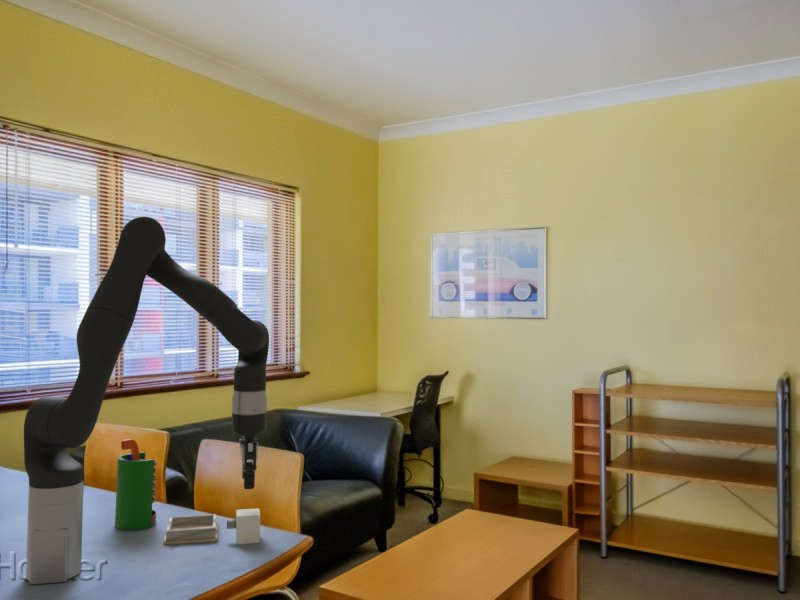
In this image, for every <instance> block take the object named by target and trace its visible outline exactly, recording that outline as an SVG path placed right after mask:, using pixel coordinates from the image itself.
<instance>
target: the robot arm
mask: <svg viewBox="0 0 800 600" xmlns="http://www.w3.org/2000/svg"><path fill="white" fill-rule="evenodd" d="M119 235H120V236H119V239H118V242H117V246H116V248H115V251H114V253H113V257H112V260H111V263H110V265H109V267H108V270H107V271H106V273H105V275H104V277H103V278H102V280H101V282H100V283H99V285H98V287H97V289H96V291H95V293H94V295H93V297H92V299H91V301H90V302H89V305H88V307H87V309H86V311H85V313H84V315H83V317H82V319H81V321H80V323H79V326H78V329H77V332H76V347H77V353H78V354H77V355H78V360H79V361H78V362H79V369H78V374H77V377H76V380H75V382H74V385H73V388H72V390H71V391H70V393H69V395H68V397H61V396H43V397H40V398H37V399H36V400H35V401H33V403H32V404H30V406H29V408H28V410H27V411H26V414H25V418H24V423H23V454H24V455H23V457H24V458H23V459H24V460H23V461H24V463H23V464H24V469H25V471H26V474H27V476H28V500H27V528H26V529H27V534H26V535H27V537H26V538H27V539H26V570H25V571H26V572H25V573H26V574H25V579H26V581H28V583H29V585H43V584H51V583H52V584H53V583H65V582H68V581H69V580H70V579H72V578H73V577H74V578H75V577H76V576H77V575H79V574H80V573H81V571H82V556H83V555H82V554H83V548H82V547H83V519H84V518H83V516H84V488H85V487H84V485H85V484H84V483H85V480H84V479H85V476H84V475H85V470H84V466H83V464H81V462H79V461H77V460H76V459H74V458H73V457H72V456H71V454H70V453H69V452H68V450H67V449H75V448H79V447H81V446H82V445H83V444H85V443H86V442H87V441H88V440H89V438H90V436H91V435H92V434H93V432H94V429H95V427H96V424H97V421H98V419H99V418H98V417H99V414H100V411H101V409H102V405H103V402H104V398H105V395H106V392H107V389H108V385H109V382H110V380H111V378H112V377H111V376H112V375H113V372H114V369H115V367H116V364H117V361H118V359H119V357H120V353H121V352H122V349H123V347H124V345H125V344H126V341H127V338H128V336H129V334H130V332H131V330H132V327H133V325H134V321H135V318H136V315H137V311H138V308H139V304H140V301H141V300H140V299H141V297H142V296H141V294H142V291H143V286H144V283H145V280H146V277H149V278H151V279H152V280H154V281H155V282H157V283H159V284H160V285H161V286H163V287H164V288H165V289H167V290H169V291H170V292H172V293H173V294H174V295H176V296H177V297H178V298H179V299H181V300H182V301H183V302H185V303H186V304H187V305H189V307H191V309H193V310H194V311H195V312H197V313H198V314H199V315H200V316H201V317H202V318H203V319H205V320H206V321H207V322H209V323H210V324H211V325H213V327H214V328H216V329H217V331H218V332H219V333H220V334H221V335H222V336H223V337H224V339H225V340H226V341H227V343H229V344H230V345H231V346H233V347H234V348H235V349H236V350H238V352H237V353H238V355H237V364H236V365H235V367H234V372H233V394H232V400H231V432H232V433H233V434H236V435H237V434H238V435H241V439H239V442H238V443H239V452H240V453H239V455H240V458H241V459H240V461H241V463H242V468H241V469H242V471H241V477H242V479H243V489H244V490H253V489H255V484H256V483H255V480H256V479H255V478H256V477H255V476H256V475H255V474H256V471H257V468H258V466H257V462H258V454H259V453H258V449H259V439H258V438H256V435H257V434H262V433H265V432H266V431H267V416H268V415H267V411H268V409H267V408H268V407H267V405H268V404H267V401H268V398H267V390H266V389H267V370H266V369H267V361H268V354H269V349H270V348H269V346H270V333H269V330H268V328H267V326H265V324H264V323H263V322H261V321H259V320H254V319H251V318H250V317H249V316H248V315H246V314H245V313H244V312H243V311H241V310H240V308H239V307H238V305H237V304H236V302H235V301H234V300H233V299H232V298H231V297H230V296H229V295H228V294H226V293H225V292H223V290H222V289H220V287H218V286H216V285H215V284H214V283H213V282H211V281H210V280H207V279H206V278H204V277H201V276H199V275H197V274H195V273H194V272H191V271H188V270H187V269H185V268H184V267H182V266H181V265H180V264H178V263H177V262H176V260H174V259H173V258H172V256H171V255H170V254H169V253H168V252H167V250H166V241H167V240H166V239H167V238H166V233H165V230H164V227H163V226H162V224H161V223H160V222H159V221H158V220H157V219H155V218H153V217H151V216H148V215H147V216H146V215H145V216H142V215H141V216H137V217H134V218H133V219H131V220H129V221H128V222H127V223H125V225H124V227H123V228H122V229H121V231H120V234H119Z"/></svg>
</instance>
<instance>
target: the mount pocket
mask: <svg viewBox="0 0 800 600" xmlns="http://www.w3.org/2000/svg"><path fill="white" fill-rule="evenodd" d="M218 532H219V521H217V514H216V513H215V514H214V513H213V514H203V515H201V514H199V515H197V514H196V515H183V516H182V515H181V516H170V517H169V520H168V524H167V527H166V531H165V534H164V538H163V541H162V544H163V546H165V545H177V544H189V543H190V544H192V543H204V542H205V543H206V542H217V541H218V539H219V538H218V537H219V533H218Z"/></svg>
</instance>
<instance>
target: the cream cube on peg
mask: <svg viewBox="0 0 800 600" xmlns="http://www.w3.org/2000/svg"><path fill="white" fill-rule="evenodd" d="M235 511H236V512H235V519H228V520H226V530H234V529H235V545H247V544H257V543H259V544H260V543H261V541H260V540H261V511H260V508H244V509H236V510H235Z"/></svg>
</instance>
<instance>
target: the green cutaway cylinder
mask: <svg viewBox="0 0 800 600" xmlns="http://www.w3.org/2000/svg"><path fill="white" fill-rule="evenodd" d="M120 443H121V445H120V446H121V450H123V451H126V450H130V451H131V452H130V453H125V454H121V455H118V457H117V467H116V468H117V470H116V490H115V491H116V493H115V496H116V497H115V514H114V515H115V516H114V527H115V528H116V529H118V530H124V531H139V530H140V531H141V530H142V531H143V530H147V529H151V528H152V526H154V525H155V524H156V522H157V511H155V510H154V509H153V504H154V503H156V497H155V495H156V487H157V482H156V480H157V475H156V473H157V467H155V466H157V465H158V461H157V460H156V459H152V458H149V459H148V458H146V452H143V451H142V452H141V451H139V445H138V443H137V441H136V440H135V439H133V438H125V439H121V442H120Z"/></svg>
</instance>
